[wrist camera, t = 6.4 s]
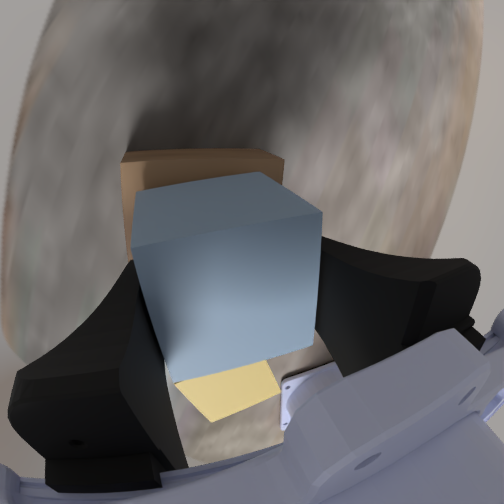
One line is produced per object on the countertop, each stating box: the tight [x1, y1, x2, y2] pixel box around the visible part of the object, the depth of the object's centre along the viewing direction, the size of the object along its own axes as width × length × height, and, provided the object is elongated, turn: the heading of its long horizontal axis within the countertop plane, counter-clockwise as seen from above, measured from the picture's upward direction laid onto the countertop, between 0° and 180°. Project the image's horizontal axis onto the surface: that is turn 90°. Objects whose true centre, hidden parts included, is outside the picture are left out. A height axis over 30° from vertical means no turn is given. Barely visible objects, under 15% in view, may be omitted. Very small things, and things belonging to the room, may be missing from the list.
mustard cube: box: [174, 360, 281, 422], centre depth 19 cm, size 5×5×5 cm
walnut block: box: [120, 148, 284, 263], centre depth 15 cm, size 7×7×4 cm
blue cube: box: [130, 171, 322, 383], centre depth 11 cm, size 5×5×5 cm
